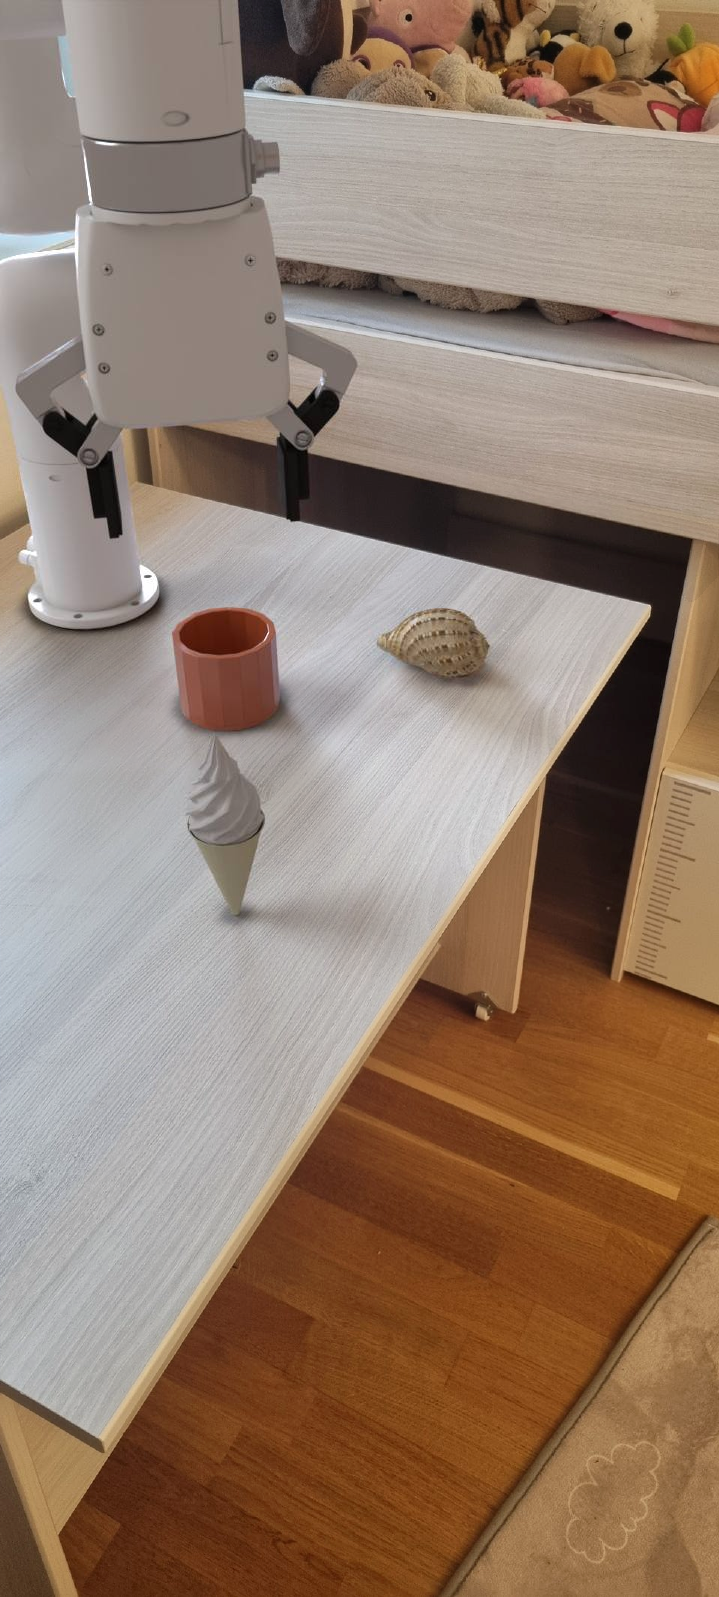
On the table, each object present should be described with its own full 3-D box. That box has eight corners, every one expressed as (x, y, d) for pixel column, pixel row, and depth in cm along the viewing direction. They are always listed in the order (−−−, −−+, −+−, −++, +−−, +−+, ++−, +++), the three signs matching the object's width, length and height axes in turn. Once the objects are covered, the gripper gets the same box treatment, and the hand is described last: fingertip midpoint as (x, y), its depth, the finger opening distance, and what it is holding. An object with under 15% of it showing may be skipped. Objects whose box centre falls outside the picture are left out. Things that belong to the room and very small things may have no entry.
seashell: (392, 711, 106) (497, 677, 102) (363, 657, 103) (470, 619, 99) (402, 666, 112) (502, 631, 108) (374, 613, 109) (476, 576, 105)
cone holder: (160, 710, 102) (151, 639, 97) (224, 667, 107) (217, 597, 103) (237, 742, 98) (230, 669, 93) (299, 695, 103) (295, 624, 99)
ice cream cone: (199, 891, 84) (176, 712, 74) (271, 886, 84) (257, 707, 75) (197, 941, 80) (172, 759, 70) (273, 936, 80) (258, 754, 71)
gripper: (338, 152, 60) (346, 480, 70) (-17, 170, 57) (45, 507, 68) (366, 179, 54) (370, 533, 64) (-29, 201, 51) (42, 565, 62)
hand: (203, 519), depth 66 cm, fingers open, 9 cm apart
